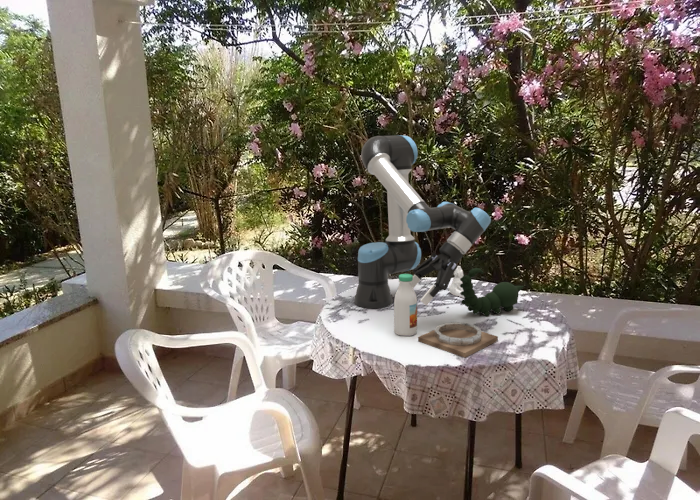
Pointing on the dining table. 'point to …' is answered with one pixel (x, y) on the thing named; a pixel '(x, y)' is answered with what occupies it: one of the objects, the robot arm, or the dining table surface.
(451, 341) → the metal collar
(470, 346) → the plate
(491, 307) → the toy figurine
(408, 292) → the milk bottle
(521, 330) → the dining table surface
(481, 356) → the dining table surface
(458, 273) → the seated beast figurine
